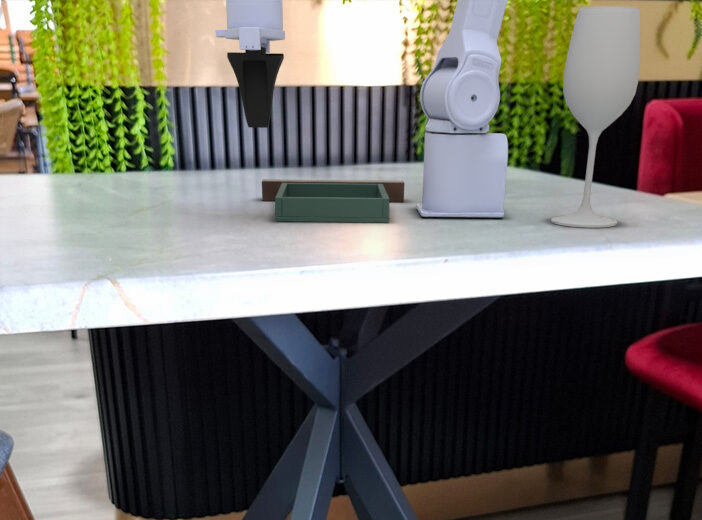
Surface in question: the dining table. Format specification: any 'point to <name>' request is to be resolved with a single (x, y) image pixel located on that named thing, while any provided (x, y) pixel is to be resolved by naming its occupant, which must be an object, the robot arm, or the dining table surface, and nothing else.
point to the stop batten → (392, 187)
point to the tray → (332, 202)
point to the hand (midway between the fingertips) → (258, 127)
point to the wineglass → (600, 84)
